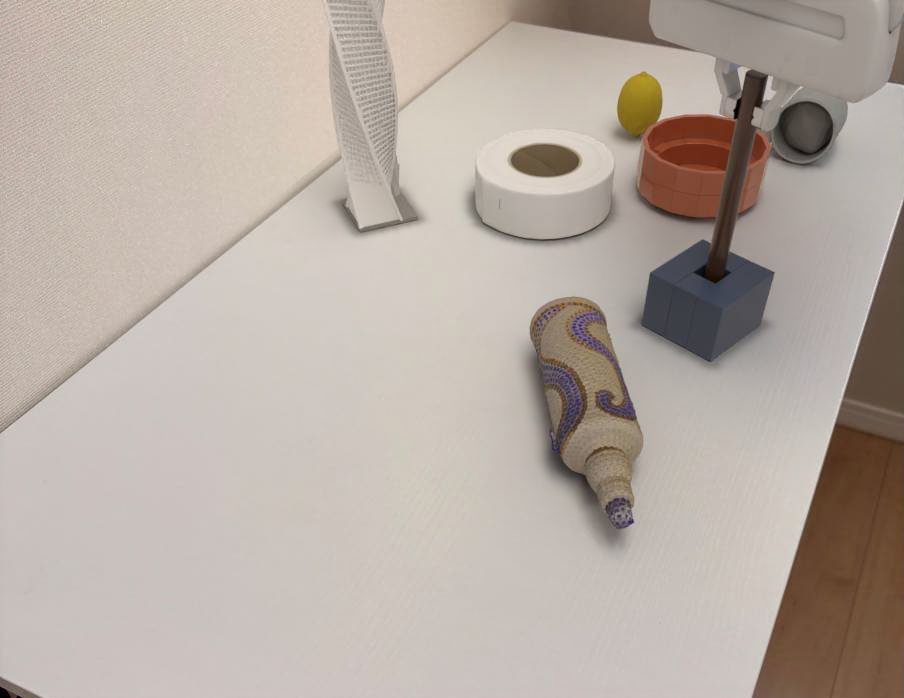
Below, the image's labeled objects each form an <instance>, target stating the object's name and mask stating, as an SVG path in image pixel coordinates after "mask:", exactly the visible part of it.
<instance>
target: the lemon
mask: <svg viewBox="0 0 904 698" xmlns="http://www.w3.org/2000/svg"><path fill="white" fill-rule="evenodd" d="M663 101H664V100H663V89H662V86H661V84H660V83H659V81H658V79H656V77H655V76H653V75H651V74H649V73H648V72H647V71H644V70H643V71H641V72H640V73H637V74H634V75H632V76H631V77H629V78H628V79H627V80H626V81H625V82H624V84H623V85H622V87H621V90H620V92H619V95H618V100H617V105H616V112H617V113H616V114H617V118H618V122H619V124H620V126H621V127H622V128H623V129H624V131H626V132H628V133H629V134H631V135H632V136H633V138H638V137H639V136H641V135H642V134H644V133H645V132H646V130H647V129H648V127H649V126H651V125H653V124H655V123H657V122H659V119H660V117H661V114H662V110H663V104H664V103H663Z"/></svg>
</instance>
